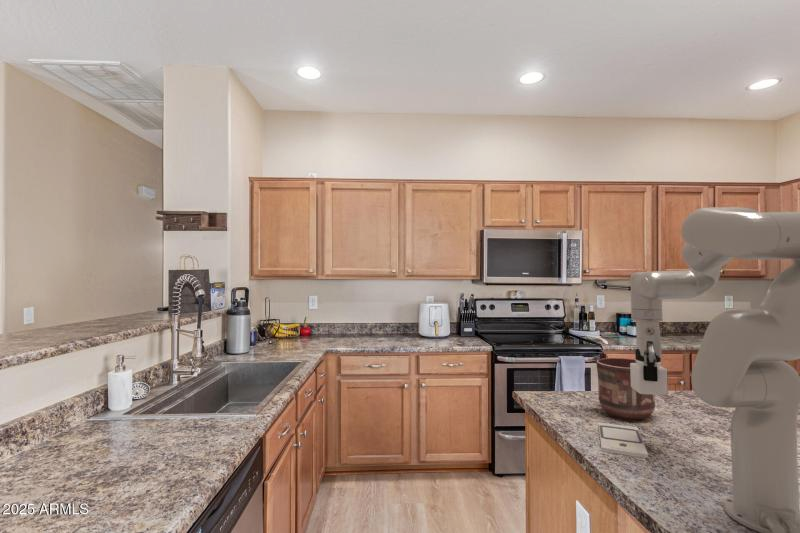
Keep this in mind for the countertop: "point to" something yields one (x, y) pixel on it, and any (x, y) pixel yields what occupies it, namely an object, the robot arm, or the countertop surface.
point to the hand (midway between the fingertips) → (648, 376)
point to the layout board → (621, 440)
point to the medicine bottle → (648, 386)
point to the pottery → (621, 391)
